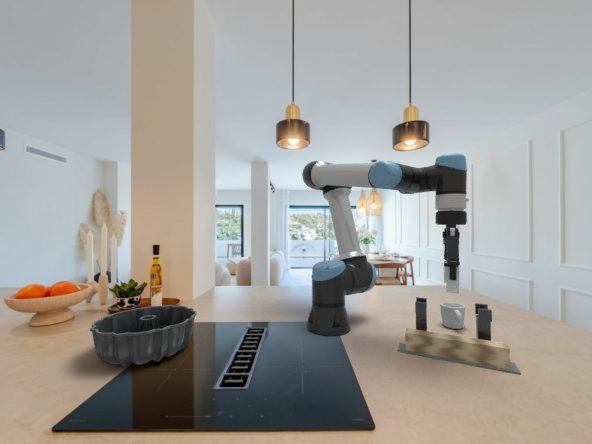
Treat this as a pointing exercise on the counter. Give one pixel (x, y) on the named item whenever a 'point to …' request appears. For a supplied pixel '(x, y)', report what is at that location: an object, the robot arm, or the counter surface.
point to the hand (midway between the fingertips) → (450, 287)
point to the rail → (458, 348)
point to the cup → (452, 314)
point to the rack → (481, 309)
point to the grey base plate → (512, 365)
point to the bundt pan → (142, 334)
